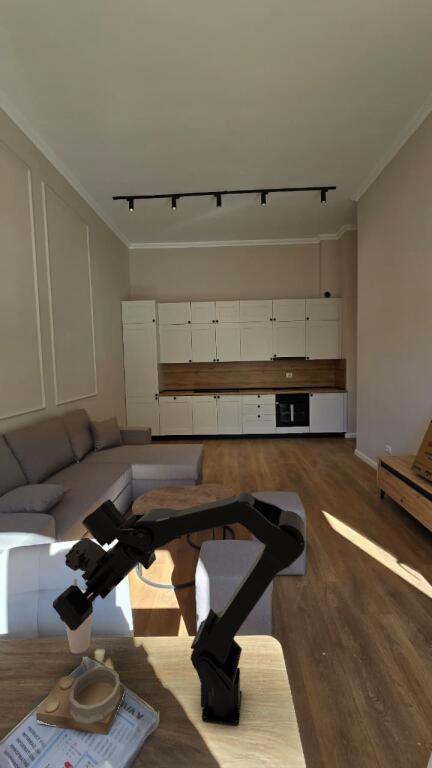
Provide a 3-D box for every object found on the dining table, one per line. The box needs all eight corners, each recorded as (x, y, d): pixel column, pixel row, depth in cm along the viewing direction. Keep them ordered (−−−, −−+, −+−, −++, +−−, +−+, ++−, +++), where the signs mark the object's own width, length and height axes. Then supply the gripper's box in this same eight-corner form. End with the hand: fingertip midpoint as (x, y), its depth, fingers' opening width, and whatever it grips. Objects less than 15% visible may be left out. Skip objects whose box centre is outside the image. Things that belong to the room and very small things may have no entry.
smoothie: (55, 651, 71) (52, 582, 70) (81, 630, 77) (79, 566, 76) (78, 663, 68) (75, 591, 67) (103, 640, 74) (101, 574, 73)
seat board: (127, 692, 68) (126, 669, 68) (107, 737, 60) (106, 711, 59) (62, 684, 70) (62, 662, 70) (34, 726, 62) (34, 701, 61)
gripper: (118, 511, 79) (77, 554, 83) (59, 552, 61) (10, 605, 65) (151, 550, 77) (108, 592, 81) (101, 604, 59) (48, 656, 63)
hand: (72, 608), depth 72 cm, fingers closed on smoothie, 6 cm apart
